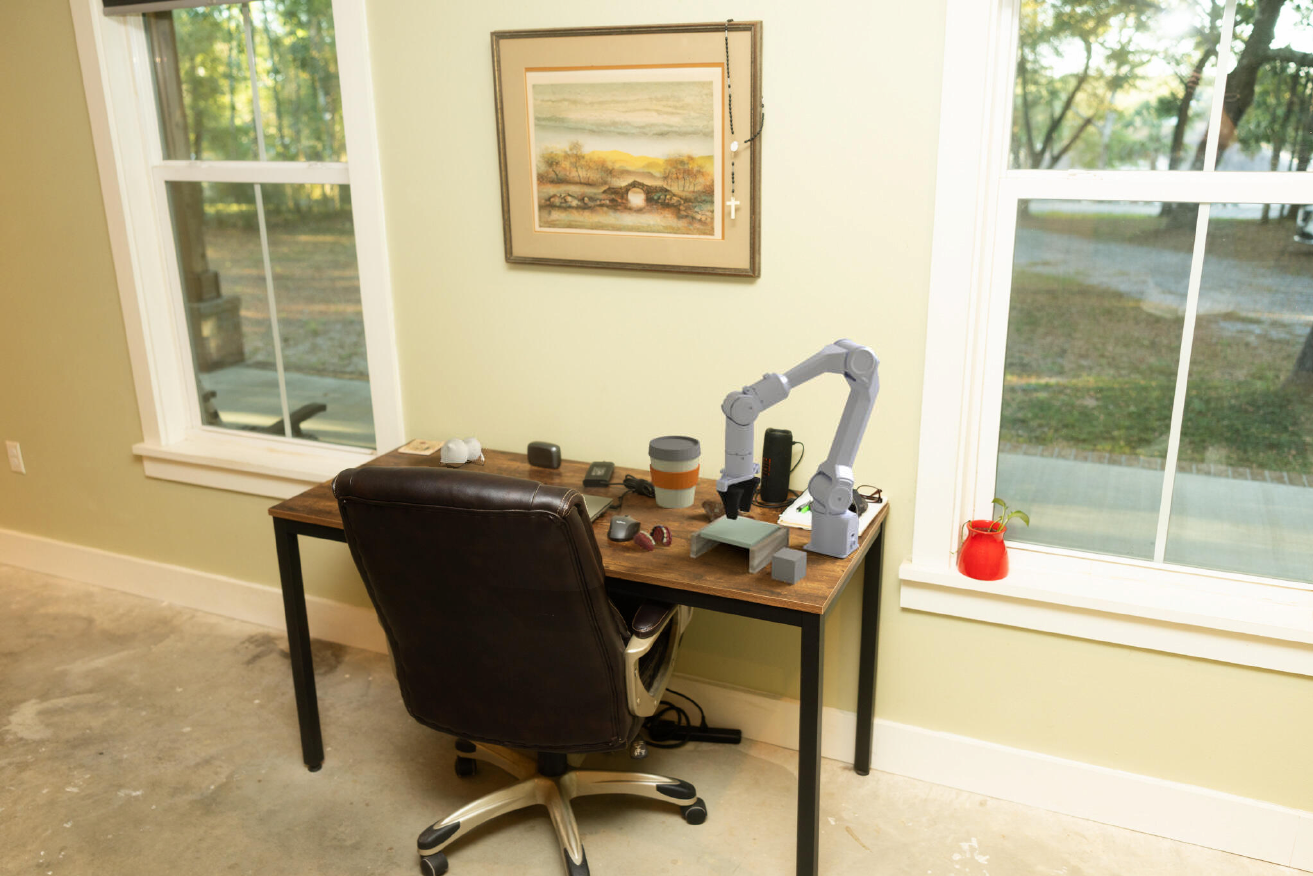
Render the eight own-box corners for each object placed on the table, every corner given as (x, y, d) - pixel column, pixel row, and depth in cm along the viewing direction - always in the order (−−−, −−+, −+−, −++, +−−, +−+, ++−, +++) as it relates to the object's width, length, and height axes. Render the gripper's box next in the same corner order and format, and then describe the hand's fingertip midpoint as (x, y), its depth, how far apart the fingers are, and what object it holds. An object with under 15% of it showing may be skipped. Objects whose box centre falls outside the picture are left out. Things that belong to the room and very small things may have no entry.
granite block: (805, 576, 190) (806, 552, 189) (794, 584, 186) (795, 561, 185) (783, 570, 193) (784, 547, 192) (771, 579, 189) (772, 555, 188)
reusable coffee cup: (666, 514, 224) (665, 453, 220) (639, 499, 234) (638, 440, 230) (710, 504, 230) (711, 444, 226) (683, 490, 241) (682, 432, 236)
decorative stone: (722, 489, 226) (772, 511, 216) (720, 506, 227) (770, 529, 218) (695, 499, 219) (746, 522, 210) (693, 516, 221) (743, 540, 211)
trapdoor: (729, 519, 208) (729, 514, 208) (779, 530, 201) (779, 525, 201) (700, 536, 199) (700, 532, 198) (750, 548, 192) (750, 544, 192)
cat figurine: (475, 426, 265) (440, 434, 257) (497, 452, 261) (462, 460, 252) (465, 449, 270) (430, 457, 261) (487, 474, 266) (452, 484, 257)
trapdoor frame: (788, 549, 203) (789, 527, 202) (754, 573, 191) (755, 550, 190) (726, 534, 211) (727, 513, 210) (690, 556, 200) (690, 534, 198)
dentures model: (630, 527, 205) (659, 520, 210) (629, 546, 206) (659, 537, 211) (645, 536, 201) (675, 528, 205) (645, 555, 202) (675, 546, 207)
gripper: (739, 439, 201) (738, 501, 204) (703, 457, 189) (702, 521, 193) (769, 445, 197) (768, 507, 201) (734, 462, 185) (733, 528, 189)
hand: (738, 515), depth 197 cm, fingers open, 5 cm apart
